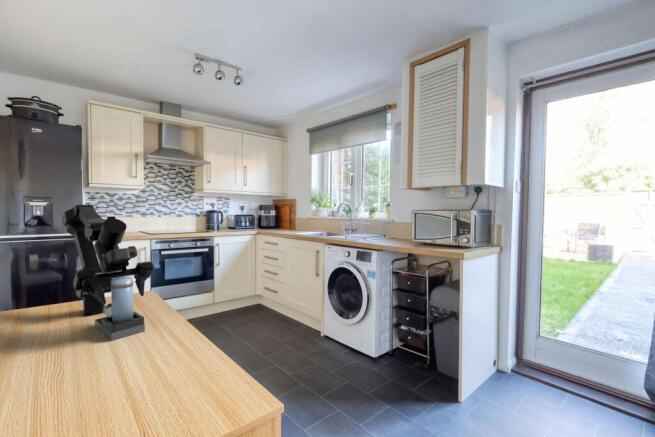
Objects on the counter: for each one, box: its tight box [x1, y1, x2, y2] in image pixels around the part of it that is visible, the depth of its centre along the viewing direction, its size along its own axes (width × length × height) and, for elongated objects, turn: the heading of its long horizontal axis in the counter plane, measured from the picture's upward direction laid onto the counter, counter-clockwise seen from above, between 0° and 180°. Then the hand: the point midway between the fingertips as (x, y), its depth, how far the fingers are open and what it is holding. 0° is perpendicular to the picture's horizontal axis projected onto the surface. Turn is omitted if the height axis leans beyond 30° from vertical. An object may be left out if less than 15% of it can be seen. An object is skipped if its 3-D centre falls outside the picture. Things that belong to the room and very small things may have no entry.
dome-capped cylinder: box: [110, 276, 134, 324], centre depth 86 cm, size 5×5×13 cm
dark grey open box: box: [94, 302, 146, 342], centre depth 88 cm, size 15×8×6 cm, turn 51°
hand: (124, 299), depth 85 cm, fingers open, 9 cm apart
